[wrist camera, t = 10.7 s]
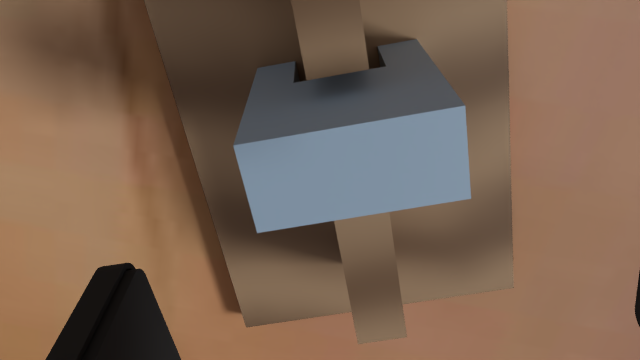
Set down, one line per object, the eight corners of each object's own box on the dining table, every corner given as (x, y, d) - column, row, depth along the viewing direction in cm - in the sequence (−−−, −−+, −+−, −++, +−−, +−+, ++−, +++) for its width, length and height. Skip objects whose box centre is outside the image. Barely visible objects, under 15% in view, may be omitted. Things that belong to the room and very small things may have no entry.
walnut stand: (86, -212, 19) (-10, -259, 14) (490, -302, 18) (573, -392, 13) (248, 314, 30) (233, 414, 24) (507, 275, 29) (555, 369, 23)
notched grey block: (273, 134, 24) (256, 233, 17) (257, 68, 23) (233, 145, 16) (423, 108, 24) (471, 198, 17) (416, 39, 22) (465, 105, 15)
